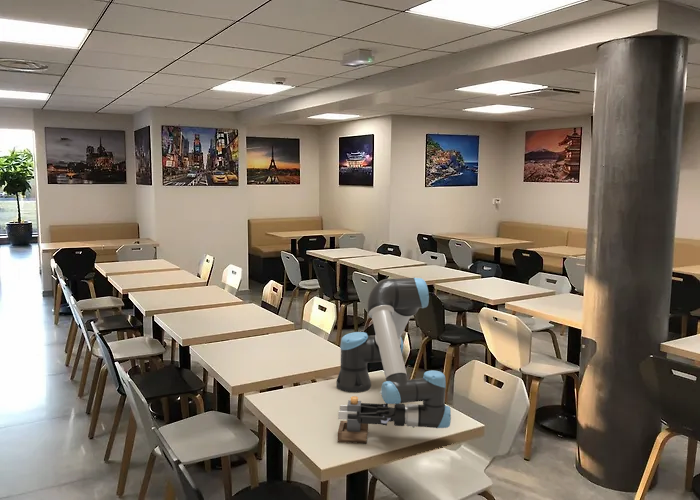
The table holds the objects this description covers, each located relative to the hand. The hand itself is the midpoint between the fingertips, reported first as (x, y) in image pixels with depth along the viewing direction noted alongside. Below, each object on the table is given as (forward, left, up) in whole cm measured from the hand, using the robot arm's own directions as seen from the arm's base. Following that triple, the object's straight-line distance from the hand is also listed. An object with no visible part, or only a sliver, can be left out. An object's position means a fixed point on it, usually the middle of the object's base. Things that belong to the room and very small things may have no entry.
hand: (339, 411), depth 200 cm
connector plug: (-2, +5, -7) cm, 8 cm away
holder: (-2, +5, -9) cm, 10 cm away
